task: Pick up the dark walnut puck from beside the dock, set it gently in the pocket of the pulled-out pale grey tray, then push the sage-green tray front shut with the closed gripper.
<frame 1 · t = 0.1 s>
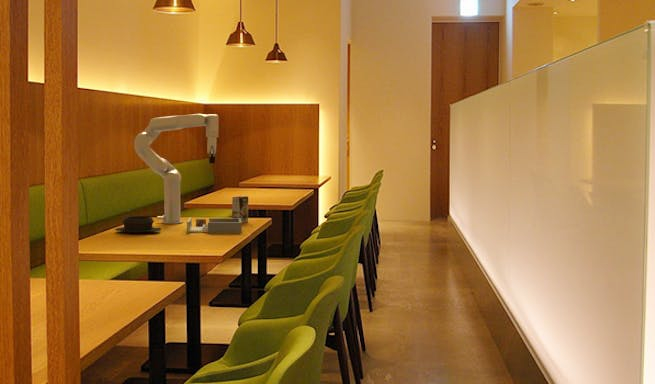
hand: (212, 163, 448), 37 cm above the table, tool pointing down, fingers open, 9 cm apart
tray: (205, 224, 415), point 3 cm above the table, slide at 8.0 cm
casserole: (138, 233, 405), on the table
dock: (221, 230, 417), on the table
coffee box: (240, 223, 454), on the table
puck: (201, 226, 433), on the table
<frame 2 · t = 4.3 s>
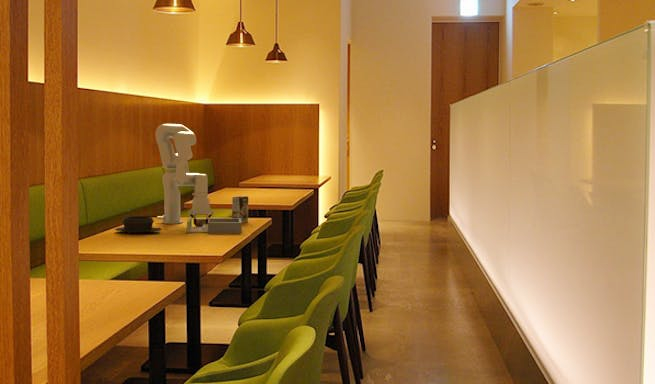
hand: (201, 225, 433), 1 cm above the table, tool pointing down, fingers closed on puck, 6 cm apart
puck: (201, 226, 433), on the table, touching gripper
everything else where it was.
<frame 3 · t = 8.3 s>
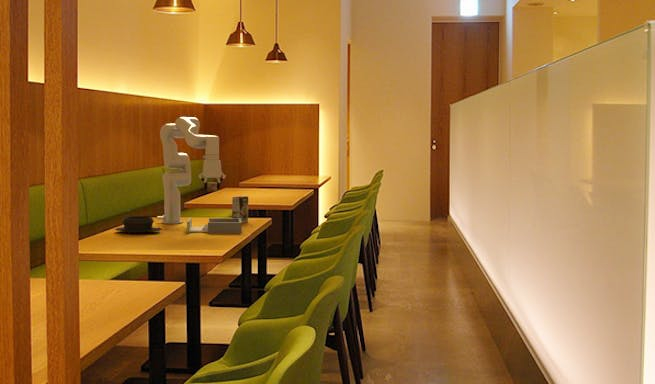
hand: (212, 189, 414), 24 cm above the table, tool pointing down, fingers closed on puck, 6 cm apart
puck: (212, 190, 414), point 23 cm above the table, touching gripper
everything else where it was.
when the fingers open (3 cm above the table, at t = 12.5 s): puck drops 1 cm, resting on tray.
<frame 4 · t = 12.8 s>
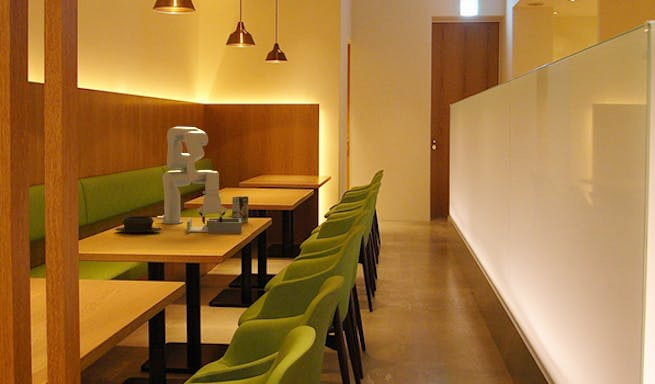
hand: (212, 223, 416), 4 cm above the table, tool pointing down, fingers open, 8 cm apart
tray: (205, 224, 415), point 3 cm above the table, slide at 8.0 cm, touching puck
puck: (212, 228, 416), point 1 cm above the table, touching tray
everything else where it was.
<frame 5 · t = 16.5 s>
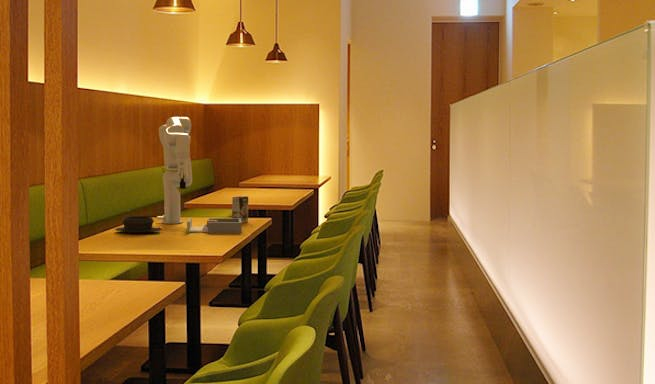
hand: (182, 188, 412), 24 cm above the table, tool pointing down, fingers closed
nothing on the table moved.
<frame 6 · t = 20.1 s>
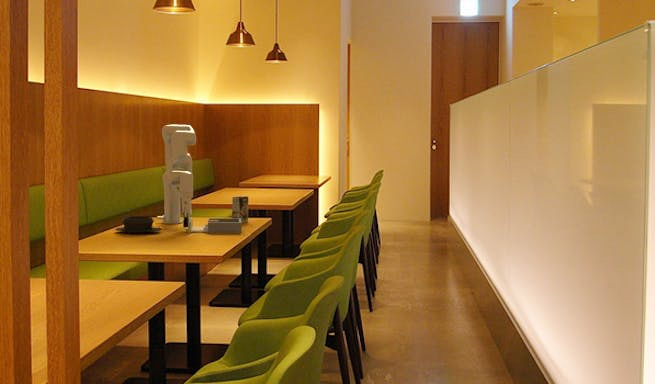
hand: (186, 227, 414), 2 cm above the table, tool pointing down, fingers closed
tray: (206, 224, 415), point 3 cm above the table, slide at 7.4 cm, touching gripper, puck
everything else where it was.
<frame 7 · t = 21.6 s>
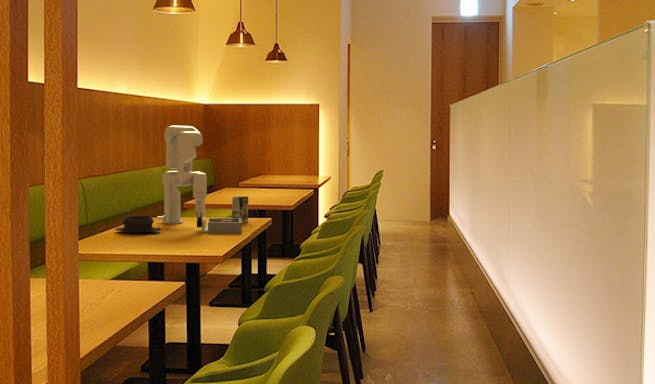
hand: (199, 227, 415), 2 cm above the table, tool pointing down, fingers closed
tray: (220, 224, 416), point 3 cm above the table, slide at -0.1 cm, touching gripper, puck
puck: (226, 228, 417), point 1 cm above the table, touching tray
everything else where it was.
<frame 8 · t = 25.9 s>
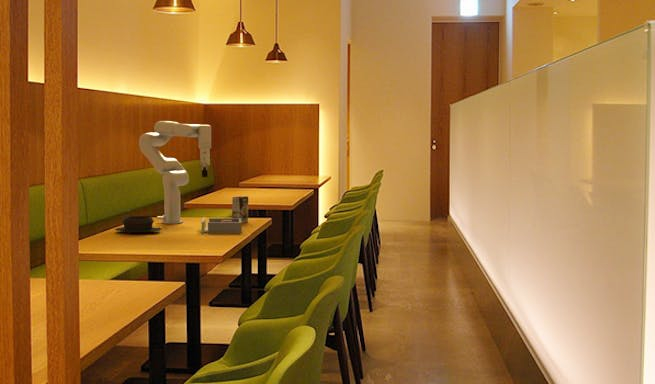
hand: (204, 176, 434), 29 cm above the table, tool pointing down, fingers closed
tray: (219, 224, 416), point 3 cm above the table, slide at 0.0 cm, touching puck
everything else where it was.
at the end: tray slide at 0.0 cm; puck inside the target area on the dock (0.5 cm from its centre), point 1.3 cm above the dock's base; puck tilted 0° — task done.
